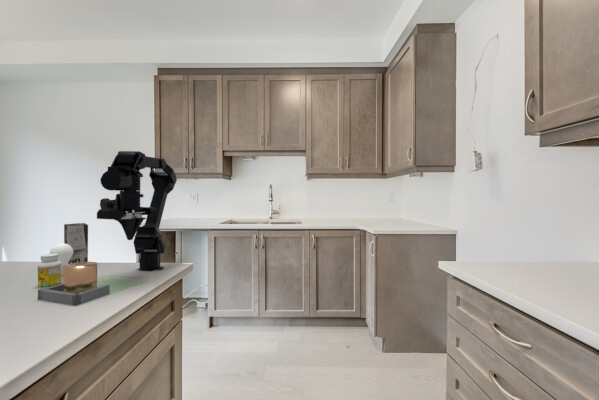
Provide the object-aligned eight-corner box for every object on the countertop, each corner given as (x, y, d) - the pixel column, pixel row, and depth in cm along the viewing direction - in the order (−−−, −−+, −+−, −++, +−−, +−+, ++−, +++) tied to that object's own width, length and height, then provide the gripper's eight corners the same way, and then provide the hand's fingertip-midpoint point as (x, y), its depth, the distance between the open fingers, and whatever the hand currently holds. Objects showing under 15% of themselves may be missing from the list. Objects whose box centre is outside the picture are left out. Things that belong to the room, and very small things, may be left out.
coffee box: (88, 268, 110) (88, 224, 110) (66, 271, 106) (66, 225, 105) (84, 264, 117) (84, 222, 116) (63, 266, 113) (63, 223, 112)
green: (112, 278, 98) (112, 276, 98) (146, 282, 95) (146, 280, 95) (37, 301, 77) (37, 299, 77) (76, 308, 73) (76, 305, 73)
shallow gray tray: (73, 288, 86) (73, 280, 86) (109, 293, 82) (109, 284, 82) (37, 299, 77) (37, 290, 77) (75, 305, 74) (75, 295, 73)
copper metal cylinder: (84, 288, 86) (84, 260, 86) (103, 291, 84) (103, 263, 84) (55, 297, 79) (55, 266, 79) (76, 301, 77) (75, 269, 76)
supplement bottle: (64, 286, 90) (64, 254, 90) (42, 291, 85) (42, 257, 85) (56, 283, 92) (56, 252, 92) (34, 288, 88) (34, 255, 88)
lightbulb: (78, 274, 102) (77, 242, 102) (62, 279, 96) (62, 245, 96) (61, 273, 103) (61, 241, 103) (44, 278, 97) (44, 244, 97)
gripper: (133, 190, 107) (133, 234, 108) (82, 190, 89) (82, 242, 90) (159, 191, 104) (159, 236, 104) (112, 190, 86) (111, 245, 87)
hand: (129, 239), depth 96 cm, fingers closed
